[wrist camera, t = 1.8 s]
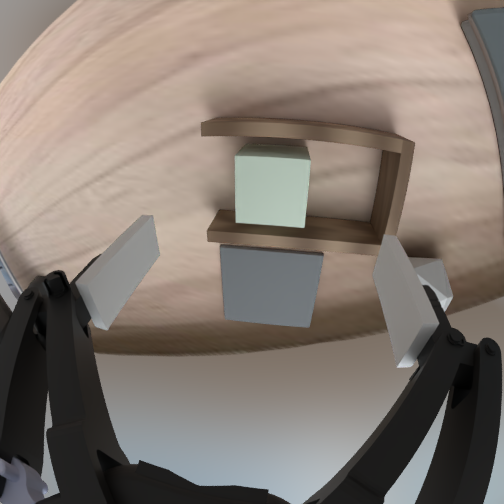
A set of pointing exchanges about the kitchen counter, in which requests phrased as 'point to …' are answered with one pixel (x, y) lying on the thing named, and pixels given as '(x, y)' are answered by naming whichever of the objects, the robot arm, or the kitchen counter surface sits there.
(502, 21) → the toaster
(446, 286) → the die
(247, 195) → the block
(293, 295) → the mat
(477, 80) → the kitchen counter surface
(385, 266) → the robot arm
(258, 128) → the brown u-shaped bracket
